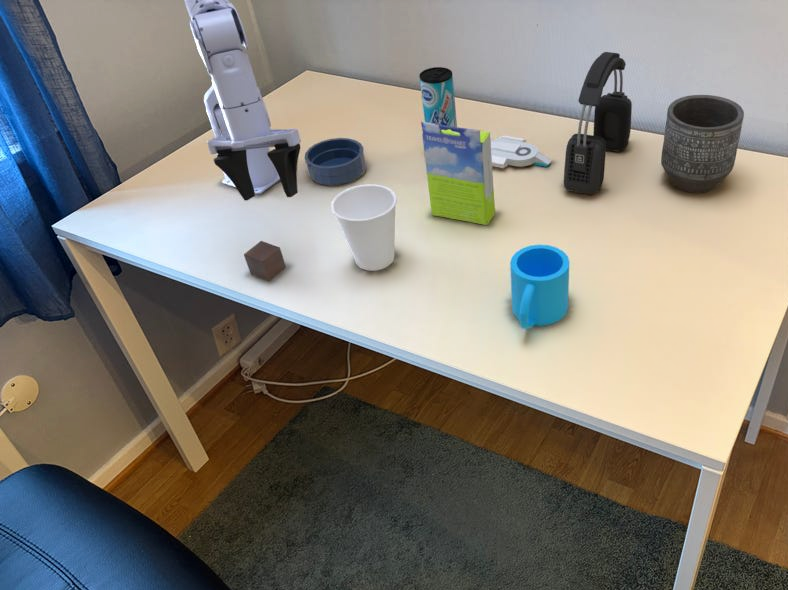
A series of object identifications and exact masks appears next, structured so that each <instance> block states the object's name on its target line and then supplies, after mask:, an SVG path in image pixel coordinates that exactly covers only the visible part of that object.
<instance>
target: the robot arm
mask: <svg viewBox="0 0 788 590" xmlns="http://www.w3.org/2000/svg"><path fill="white" fill-rule="evenodd" d="M183 3H184V4H185V7H186V11H187V13H188V16H189V21H188V22H189V26H190V30H191V33H192V36H193V39H194V42H195V45H196V48H197V51H198V53H199V56H200V57H201V59H202V61H203V63H204V66H205V68H206V71H207V74H208V75H209V76H210V77H211V78H210V80H211V83H212V84H211V85H210V87H209V88H208V89H207V91H206V92H205V94H204V95H203V102H204V106H205V111H206V114H207V116H208V120H209V123H210V126H211V128H212V131H213V134H214V137H213V138H211V139H208V140H207V141H206V144H207V147H208V149H209V152H210V155H216V157H215V158H213V163H214V165H215V166H216V167H217V168H219V169H220V170H221V171H222V173H223V175H224V179H222V183H223V184H224V185H227V186H230V187H233V188H236V190H237V191H238V193H239V195H240V196H241V198H242V200H244V201H246V202H247V201H249V200H251V199H252V198H254V197H255V196H256V195H261V194H262V193H264V192H265V191H267V190H268V189H269V188H271V187H273V186H274V185H275V184H276V183H278V182H279V181H280V183H281V186H282V190H283V192H284V194H285V196H286V198H292V197H294V196H295V195H297V194H298V179H297V176H298V175H297V173H298V162H299V156H300V152H301V142H302V140H301V137H300V133H299V129H298V128H291V129H287V128H286V129H283V128H281V129H280V128H279V129H278V128H273V129H272V128H271V126H272V124H271V119H270V116H269V111H268V109H267V106H266V103H265V101H264V98H263V96H262V93H261V90H260V88H259V87H258V84H257V81H256V78H255V73H254V70H253V68H252V64H251V61H250V57H249V55H248V53H247V52H249V44H248V38H247V35H246V34H247V33H246V31H245V28H244V25H243V22H242V19H241V17H240V14H239V13H238V12H239V11H237V9H236V7H235V6H234V5H233V2H230V0H183ZM243 47H244V48H245V51H246V52H245V51H244V49H243ZM271 148H273V149H271Z"/></svg>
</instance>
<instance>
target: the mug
mask: <svg viewBox="0 0 788 590" xmlns="http://www.w3.org/2000/svg"><path fill="white" fill-rule="evenodd" d="M509 264H510V265H509V266H510V288H511V290H510V292H511V293H510V294H511V295H510V296H511V310H512V313H513V315H514V316H515V318H516V319H518V320H519V325H520V327H521V328H522V329H524V330H528V329H531V328H532V327H533V326H538V327H542V326H548V325H552V324H555V323H557V322H559V321H561V320H562V319H563V318H564V317H565V316H566V315H567V313H568V308H569V288H570V259H569V256H568V255H567V254H566V252H565V251H564V250H562V249H560V248H558V247H556V246H553V245H549V244H533V245H528V246H525V247H522V248H520V249H518V250H516V252H515V253H514V254H513V255H512V256H511V259H510V263H509Z"/></svg>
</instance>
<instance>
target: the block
mask: <svg viewBox="0 0 788 590" xmlns="http://www.w3.org/2000/svg"><path fill="white" fill-rule="evenodd" d="M243 257H244V260H245V262H246V266H247V267H248V271H249V273H250V275H251V276H254V277H256V278H260V279H261V280H264V281H266V282H271V281H272V280H274V278H276V277H277V276H278V275H279V274H280V273H282V272H283V271H284V270H285V269H286V268H287V265H286V263H285V260H284V256H283V253H282V250H281V247H280V246H277V245H274V244H272V243H268V242H266V241H263V240H260V241H259V242H257V243H256V244H254V245H253V246H252V247H251V248H250V249H248V250H247V251H246V252H245V253H243Z"/></svg>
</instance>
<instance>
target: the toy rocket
mask: <svg viewBox="0 0 788 590" xmlns="http://www.w3.org/2000/svg"><path fill="white" fill-rule="evenodd" d="M490 140H491V157H492V167H494V168H495V167H496V168H500V169H505V168H507V167H508V166H513V167H526V166H531V165H535V166H540V167H544V168H545V167H546V168H547V167H548V166H549V165H550V163H551V162H552V159H551V158H550V157H548V156H546V155H544V154H543V153H541V152H539V148H538V147H537V146H536V145H535V144H533V143H531V142H526V141H527V140H526V138H521V137H517V136H511V135H501V136H500V137H499V136H498V137H496V138H495V139H491V138H490Z"/></svg>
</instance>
